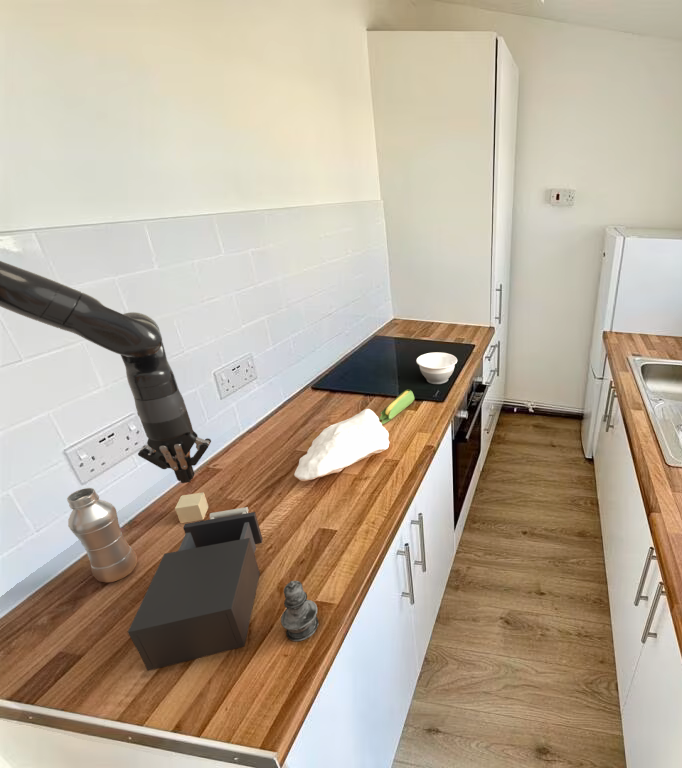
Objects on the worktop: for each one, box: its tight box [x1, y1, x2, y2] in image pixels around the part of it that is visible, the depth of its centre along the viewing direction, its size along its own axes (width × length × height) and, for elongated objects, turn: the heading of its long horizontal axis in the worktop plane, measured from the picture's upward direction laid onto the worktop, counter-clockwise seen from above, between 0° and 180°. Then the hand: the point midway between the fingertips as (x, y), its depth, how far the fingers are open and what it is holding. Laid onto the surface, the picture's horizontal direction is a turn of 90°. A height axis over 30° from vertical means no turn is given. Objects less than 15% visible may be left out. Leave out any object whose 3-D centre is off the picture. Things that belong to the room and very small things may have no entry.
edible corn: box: [379, 389, 415, 425], centre depth 148 cm, size 5×20×5 cm, turn 163°
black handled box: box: [127, 538, 261, 672], centre depth 77 cm, size 16×14×10 cm
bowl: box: [415, 351, 458, 385], centre depth 171 cm, size 16×16×9 cm
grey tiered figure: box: [280, 580, 319, 642], centre depth 75 cm, size 6×6×12 cm
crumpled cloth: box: [293, 408, 390, 482], centre depth 122 cm, size 24×35×9 cm
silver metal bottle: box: [66, 487, 138, 584], centre depth 82 cm, size 6×7×20 cm
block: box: [174, 491, 209, 524], centre depth 100 cm, size 4×4×4 cm
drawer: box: [177, 506, 264, 556], centre depth 87 cm, size 20×13×8 cm, turn 19°
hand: (187, 480), depth 94 cm, fingers closed
